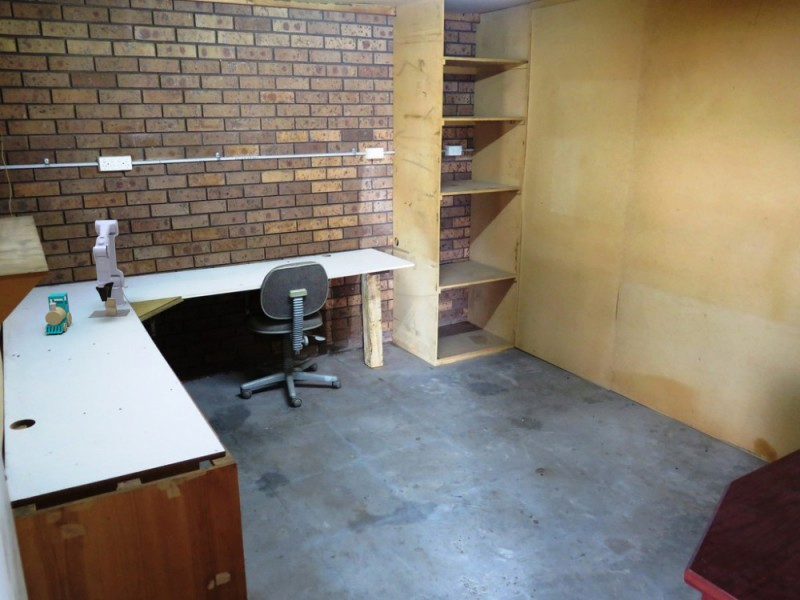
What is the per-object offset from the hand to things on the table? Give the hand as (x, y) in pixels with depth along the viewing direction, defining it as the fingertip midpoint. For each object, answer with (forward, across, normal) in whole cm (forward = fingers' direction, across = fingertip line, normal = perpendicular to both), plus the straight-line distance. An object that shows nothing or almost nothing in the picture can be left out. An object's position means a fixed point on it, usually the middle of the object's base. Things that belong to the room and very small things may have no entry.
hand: (106, 299), depth 289 cm
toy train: (+10, -13, +18) cm, 24 cm away
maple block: (+9, +7, 0) cm, 11 cm away
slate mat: (+10, +9, +1) cm, 13 cm away
